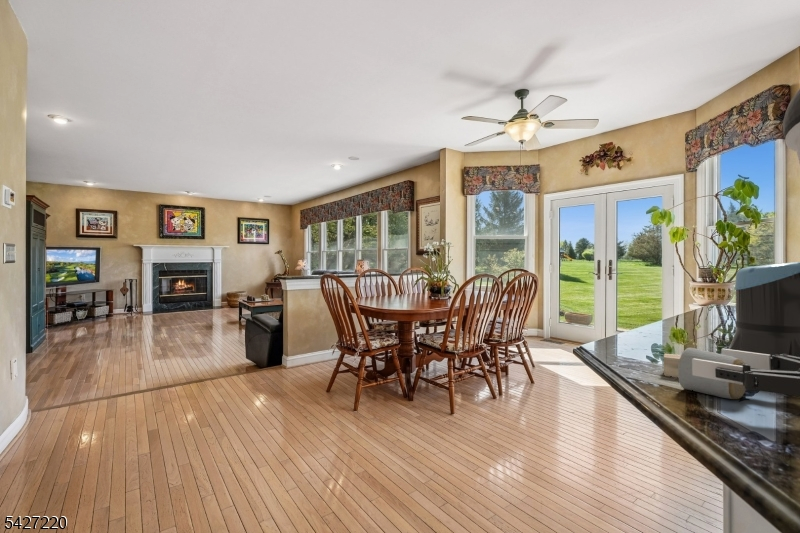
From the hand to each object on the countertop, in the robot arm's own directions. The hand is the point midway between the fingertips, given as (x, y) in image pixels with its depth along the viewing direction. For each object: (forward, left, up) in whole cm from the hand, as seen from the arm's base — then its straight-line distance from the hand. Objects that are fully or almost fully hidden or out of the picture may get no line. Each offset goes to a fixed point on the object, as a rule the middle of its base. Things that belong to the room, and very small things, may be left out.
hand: (708, 360), depth 66 cm
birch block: (-9, -8, -6) cm, 14 cm away
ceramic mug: (-2, 0, -6) cm, 7 cm away
